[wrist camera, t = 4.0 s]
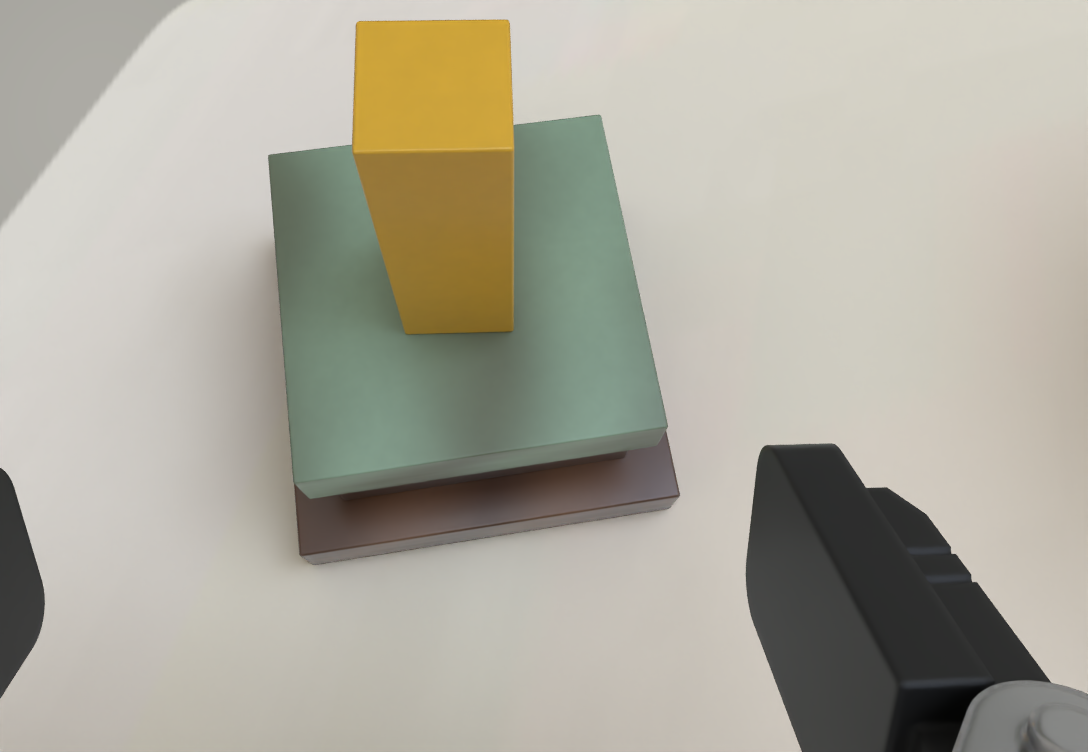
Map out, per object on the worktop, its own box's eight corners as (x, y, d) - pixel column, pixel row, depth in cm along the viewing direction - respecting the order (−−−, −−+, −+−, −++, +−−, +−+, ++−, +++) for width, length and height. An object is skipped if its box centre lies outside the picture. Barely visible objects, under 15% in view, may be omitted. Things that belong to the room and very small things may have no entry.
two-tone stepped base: (312, 565, 30) (256, 528, 24) (285, 239, 34) (231, 129, 28) (670, 508, 31) (713, 457, 25) (605, 198, 35) (626, 82, 28)
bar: (404, 334, 26) (350, 152, 17) (405, 237, 26) (355, 19, 18) (513, 332, 26) (514, 150, 17) (510, 235, 27) (509, 18, 18)
